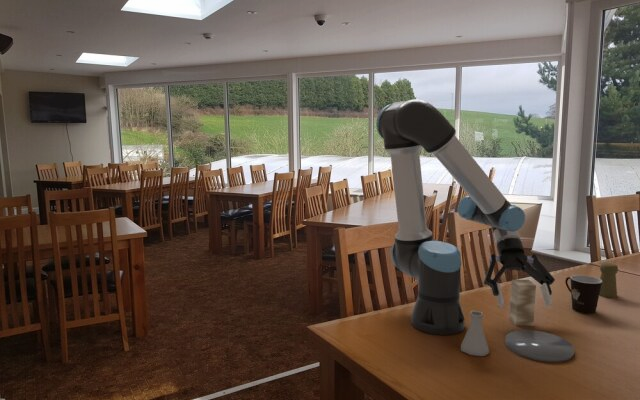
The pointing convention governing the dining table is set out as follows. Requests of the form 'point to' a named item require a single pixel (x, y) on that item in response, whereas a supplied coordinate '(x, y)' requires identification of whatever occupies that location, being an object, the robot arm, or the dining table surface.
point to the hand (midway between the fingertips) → (525, 305)
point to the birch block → (522, 302)
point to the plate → (539, 346)
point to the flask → (475, 337)
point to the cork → (608, 280)
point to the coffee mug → (584, 293)
